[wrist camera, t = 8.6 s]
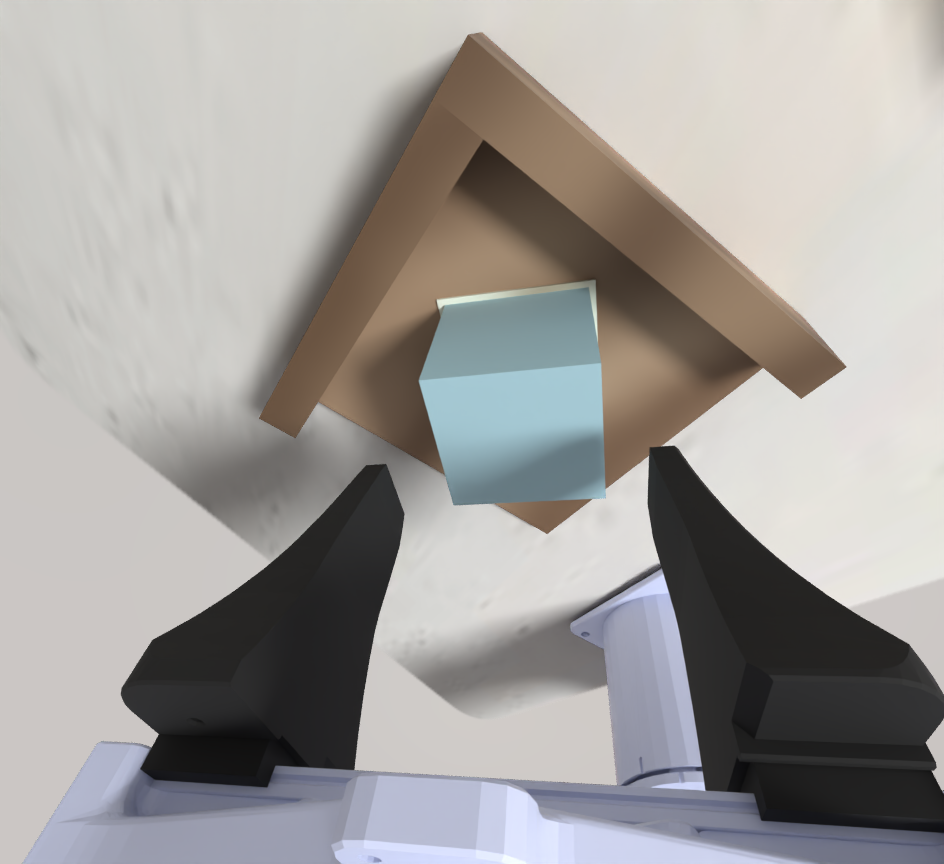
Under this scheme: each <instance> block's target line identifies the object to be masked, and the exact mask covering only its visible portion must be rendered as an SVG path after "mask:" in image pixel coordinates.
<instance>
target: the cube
mask: <svg viewBox="0 0 944 864" xmlns="http://www.w3.org/2000/svg"><path fill="white" fill-rule="evenodd" d="M419 383H420V387H421V391H422V394H423V398H424V401H425V405H426V408H427V412H428V416H429V419H430V423H431V426H432V430H433V433H434V437H435V440H436V444H437V448H438V451H439V455H440V458H441V462H442V465H443V469H444V473H445V476H446V480H447V483H448V487H449V490H450V494H451V497H452V501H453V505H472V504H493V503H514V502H536V501H557V500H578V499H600V498H606V492H605V462H604V432H603V402H602V372H601V359H600V353H599V347H598V341H597V335H596V329H595V322H594V316H593V310H592V304H591V298H590V292H589V287H587V288H579V289H571V290H563V291H554V292H546V293H538V294H530V295H522V296H514V297H506V298H498V299H490V300H482V301H474V302H466V303H458V304H449V305H445V307H444V310H443V313H442V316H441V318H440V321H439V324H438V327H437V330H436V333H435V336H434V338H433V341H432V344H431V347H430V350H429V353H428V355H427V358H426V361H425V364H424V367H423V370H422V373H421V375H420V378H419Z"/></svg>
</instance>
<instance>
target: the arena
mask: <svg viewBox="0 0 944 864" xmlns="http://www.w3.org/2000/svg"><path fill="white" fill-rule="evenodd" d="M587 287H589V292H590V298H591V304H592V310H593V316H594V322H595V329H596V335H597V341H598V347H599V353H600V359H601V372H602V402H603V432H604V462H605V489H606V488H607V487H609V486H610V485H611V484H613V483H614V482H615V481H617V480H618V479H619V478H620V477H622V476H623V475H624V474H626V473H627V472H628V471H630V470H631V469H632V468H633V467H635V466H636V465H637V464H639V463H640V462H641V461H643V460H644V459H645V458H646V457H648V456H649V447H661V446H662V445H663V444H665V443H666V442H667V441H669V440H670V439H671V438H672V437H674V436H675V435H676V434H678V433H679V432H680V431H682V430H683V429H684V428H685V427H687V426H688V425H689V424H691V423H692V422H693V421H695V420H696V419H697V418H698V417H700V416H701V415H702V414H704V413H705V412H706V411H708V410H709V409H710V408H711V407H713V406H714V405H715V404H717V403H718V402H719V401H721V400H722V399H723V398H724V397H726V396H727V395H728V394H730V393H731V392H732V391H734V390H735V389H736V388H737V387H739V386H740V385H741V384H743V383H744V382H745V381H747V380H748V379H749V378H750V377H752V376H753V375H754V374H756V373H757V372H758V371H760V370H761V369H762V368H764V369H765V370H766V371H768V372H769V373H770V374H771V375H773V376H774V377H775V378H776V379H778V380H779V381H780V382H781V383H782V384H784V385H785V386H786V387H787V388H789V389H790V390H791V391H792V392H793V393H795V394H796V395H797V396H798V397H800V398H801V399H802V398H803V397H805V396H806V395H807V394H809V393H810V392H812V391H813V390H815V389H816V388H817V387H819V386H820V385H822V384H823V383H825V382H826V381H827V380H829V379H830V378H832V377H833V376H835V375H836V374H837V373H839V372H840V371H842V370H843V369H845V368H846V366H845V365H844V363H843V362H842V361H841V360H840V359H839V358H838V356H837V355H836V354H835V353H834V352H833V351H832V350H831V348H830V347H829V346H828V345H827V344H826V343H825V342H824V340H823V339H822V338H821V337H820V336H819V335H818V334H817V332H816V331H815V330H814V329H813V328H812V327H811V326H810V324H809V323H808V322H807V321H806V320H805V319H804V318H803V317H802V316H801V315H800V314H799V313H798V312H796V311H795V310H794V309H793V308H792V307H791V306H790V305H789V304H787V303H786V302H785V301H784V300H783V299H782V298H781V297H780V296H778V295H777V294H776V293H775V292H774V291H773V290H772V289H771V288H769V287H768V286H767V285H766V284H765V283H764V282H763V281H761V280H760V279H759V278H758V277H757V276H756V275H755V274H754V273H752V272H751V271H750V270H749V269H748V268H747V267H746V266H745V265H743V264H742V263H741V262H740V261H739V260H738V259H737V258H736V257H734V256H733V255H732V254H731V253H730V252H729V251H728V250H727V249H725V248H724V247H723V246H722V245H721V244H720V243H719V242H718V241H716V240H715V239H714V238H713V237H712V236H711V235H710V234H709V233H707V232H706V231H705V230H704V229H703V228H702V227H701V226H700V225H698V224H697V223H696V222H695V221H694V220H693V219H692V218H691V217H689V216H688V215H687V214H686V213H685V212H684V211H683V210H681V209H680V208H679V207H678V206H677V205H676V204H675V203H674V202H672V201H671V200H670V199H669V198H668V197H667V196H666V195H665V194H663V193H662V192H661V191H660V190H659V189H658V188H657V187H656V186H654V185H653V184H652V183H651V182H650V181H649V180H648V179H647V178H645V177H644V176H643V175H642V174H641V173H640V172H639V171H638V170H636V169H635V168H634V167H633V166H632V165H631V164H630V163H629V162H627V161H626V160H625V159H624V158H623V157H622V156H621V155H620V154H618V153H617V152H616V151H615V150H614V149H613V148H612V147H611V146H609V145H608V144H607V143H606V142H605V141H604V140H603V139H601V138H600V137H599V136H598V135H597V134H596V133H595V132H594V131H592V130H591V129H590V128H589V127H588V126H587V125H586V124H585V123H583V122H582V121H581V120H580V119H579V118H578V117H577V116H576V115H574V114H573V113H572V112H571V111H570V110H569V109H568V108H567V107H565V106H564V105H563V104H562V103H561V102H560V101H559V100H558V99H556V98H555V97H554V96H553V95H552V94H551V93H550V92H549V91H547V90H546V89H545V88H544V87H543V86H542V85H541V84H540V83H538V82H537V81H536V80H535V79H534V78H533V77H532V76H531V75H529V74H528V73H527V72H526V71H525V70H524V69H523V68H521V67H520V66H519V65H518V64H517V63H516V62H515V61H514V60H512V59H511V58H510V57H509V56H508V55H507V54H506V53H505V52H503V51H502V50H501V49H500V48H499V47H498V46H497V45H496V44H494V43H493V42H492V41H491V40H490V39H489V38H488V37H487V36H485V35H484V34H483V33H482V32H481V33H475V34H469V35H468V36H467V38H466V40H465V41H464V43H463V45H462V47H461V49H460V51H459V52H458V54H457V56H456V58H455V60H454V62H453V63H452V65H451V67H450V69H449V71H448V73H447V74H446V76H445V78H444V80H443V82H442V84H441V85H440V87H439V89H438V91H437V93H436V95H435V96H434V98H433V100H432V102H431V104H430V106H429V107H428V109H427V111H426V113H425V115H424V117H423V118H422V120H421V122H420V124H419V126H418V128H417V129H416V131H415V133H414V135H413V137H412V139H411V140H410V142H409V144H408V146H407V148H406V150H405V151H404V153H403V155H402V157H401V159H400V161H399V162H398V164H397V166H396V168H395V170H394V172H393V173H392V175H391V177H390V179H389V181H388V183H387V184H386V186H385V188H384V190H383V192H382V194H381V195H380V197H379V199H378V201H377V203H376V205H375V206H374V208H373V210H372V212H371V214H370V216H369V217H368V219H367V221H366V223H365V225H364V227H363V228H362V230H361V232H360V234H359V236H358V238H357V239H356V241H355V243H354V245H353V247H352V249H351V250H350V252H349V254H348V256H347V258H346V259H345V261H344V263H343V265H342V267H341V269H340V270H339V272H338V274H337V276H336V278H335V280H334V281H333V283H332V285H331V287H330V289H329V291H328V292H327V294H326V296H325V298H324V300H323V302H322V303H321V305H320V307H319V309H318V311H317V313H316V314H315V316H314V318H313V320H312V322H311V324H310V325H309V327H308V329H307V331H306V333H305V335H304V336H303V338H302V340H301V342H300V344H299V346H298V347H297V349H296V351H295V353H294V355H293V357H292V358H291V360H290V362H289V364H288V366H287V368H286V369H285V371H284V373H283V375H282V377H281V379H280V380H279V382H278V384H277V386H276V388H275V390H274V391H273V393H272V395H271V397H270V399H269V401H268V402H267V404H266V406H265V408H264V410H263V412H262V413H261V415H260V417H259V419H261V420H263V421H265V422H267V423H269V424H270V425H272V426H274V427H276V428H278V429H279V430H281V431H283V432H285V433H287V434H289V435H290V436H292V437H294V438H296V436H297V435H298V433H299V431H300V430H301V428H302V427H303V425H304V423H305V422H306V420H307V419H308V417H309V415H310V414H311V412H312V411H313V409H314V408H315V406H316V404H317V403H318V402H320V403H321V404H323V405H325V406H327V407H328V408H330V409H332V410H334V411H335V412H337V413H339V414H340V415H342V416H344V417H346V418H347V419H349V420H351V421H353V422H354V423H356V424H358V425H360V426H361V427H363V428H365V429H366V430H368V431H370V432H372V433H373V434H375V435H377V436H379V437H380V438H382V439H384V440H385V441H387V442H389V443H391V444H392V445H394V446H396V447H398V448H399V449H401V450H403V451H405V452H406V453H408V454H410V455H411V456H413V457H415V458H417V459H418V460H420V461H422V462H424V463H425V464H427V465H429V466H430V467H432V468H434V469H436V470H437V471H439V472H441V473H443V474H444V475H445V473H444V469H443V465H442V462H441V458H440V455H439V451H438V448H437V444H436V440H435V437H434V433H433V430H432V426H431V423H430V419H429V416H428V412H427V408H426V405H425V401H424V398H423V394H422V391H421V387H420V383H419V378H420V375H421V373H422V370H423V367H424V364H425V361H426V358H427V355H428V353H429V350H430V347H431V344H432V341H433V338H434V336H435V333H436V330H437V327H438V324H439V321H440V318H441V316H442V313H443V310H444V307H445V305H449V304H458V303H466V302H474V301H482V300H490V299H498V298H506V297H514V296H522V295H530V294H538V293H546V292H554V291H563V290H571V289H579V288H587ZM591 500H592V499H578V500H557V501H536V502H514V503H495V504H496V505H498V506H500V507H501V508H503V509H505V510H507V511H508V512H510V513H512V514H514V515H515V516H517V517H519V518H520V519H522V520H524V521H526V522H527V523H529V524H531V525H533V526H534V527H536V528H538V529H540V530H541V531H543V532H545V533H546V534H548V533H549V532H550V531H552V530H553V529H554V528H555V527H557V526H558V525H559V524H561V523H562V522H563V521H565V520H566V519H567V518H568V517H570V516H571V515H572V514H574V513H575V512H576V511H578V510H579V509H580V508H581V507H583V506H584V505H585V504H587V503H588V502H589V501H591Z"/></svg>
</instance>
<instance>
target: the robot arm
mask: <svg viewBox="0 0 944 864" xmlns="http://www.w3.org/2000/svg"><path fill="white" fill-rule="evenodd" d="M648 509H649V515H650V522H651V528H652V534H653V539H654V543H655V546H656V550H657V553H658V557H659V560H660V564H661V567H662V569H660V570H658V571H657V572H655V573H653V574H652V575H650V576H648V577H647V578H645V579H643V580H642V581H640V582H638V583H637V584H635V585H633V586H632V587H630V588H628V589H627V590H625V591H623V592H622V593H620V594H618V595H617V596H615V597H613V598H612V599H610V600H608V601H607V602H605V603H603V604H602V605H600V606H598V607H597V608H595V609H593V610H592V611H590V612H588V613H587V614H585V615H583V616H582V617H580V618H578V619H577V620H575V621H573V622H572V623H571V624H570V631H571V632H572V633H573V634H575V635H577V636H579V637H581V638H582V639H584V640H586V641H588V642H590V643H592V644H594V645H596V646H598V647H600V648H602V649H604V653H605V664H606V674H607V685H608V695H609V706H610V716H611V727H612V738H613V748H614V759H615V768H616V780H617V785H600V784H582V783H565V782H546V781H530V780H513V779H496V778H479V777H461V776H444V775H427V774H426V775H425V774H410V773H392V772H374V771H358V770H354V768H355V759H356V750H357V740H358V731H359V724H360V717H361V709H362V703H363V695H364V689H365V683H366V677H367V671H368V665H369V659H370V654H371V649H372V644H373V638H374V633H375V629H376V625H377V621H378V617H379V613H380V610H381V607H382V603H383V600H384V597H385V593H386V590H387V587H388V584H389V580H390V577H391V574H392V570H393V567H394V564H395V560H396V557H397V553H398V550H399V546H400V540H401V534H402V528H403V521H404V511H403V509H402V506H401V503H400V500H399V498H398V495H397V492H396V489H395V487H394V484H393V481H392V478H391V476H390V473H389V470H388V467H387V465H386V464H380V465H366V466H365V467H364V468H363V470H362V471H361V472H360V473H359V474H358V475H357V476H356V477H355V478H354V480H353V481H352V482H351V483H350V484H349V485H348V486H347V487H346V489H345V490H344V491H343V492H342V493H341V494H340V495H339V497H338V498H337V499H336V500H335V501H334V502H333V503H332V504H331V505H330V506H329V508H328V509H327V510H326V511H325V512H324V513H323V514H322V515H321V516H320V517H319V518H318V519H317V520H316V521H315V522H314V523H313V524H312V525H311V526H310V527H309V528H308V529H307V530H306V531H305V532H304V533H303V534H302V535H301V536H300V537H299V538H298V539H297V540H296V541H295V542H294V543H293V544H292V545H291V546H290V547H289V548H288V549H287V550H285V551H284V552H283V553H282V554H281V555H280V556H279V557H277V558H276V559H275V560H274V561H273V562H271V563H270V564H269V565H268V566H267V567H266V568H264V569H263V570H262V571H260V572H259V573H258V574H257V575H255V576H254V577H252V578H251V579H250V580H248V581H247V582H246V583H244V584H243V585H242V586H240V587H239V588H238V589H236V590H235V591H233V592H232V593H231V594H229V595H228V596H226V597H225V598H223V599H222V600H220V601H219V602H217V603H216V604H214V605H212V606H211V607H209V608H208V609H206V610H205V611H203V612H202V613H200V614H198V615H196V616H195V617H193V618H191V619H190V620H188V621H186V622H184V623H183V624H181V625H179V626H177V627H175V628H174V629H172V630H170V631H168V632H166V633H165V634H163V635H161V636H159V637H157V638H155V639H153V640H152V642H151V643H150V645H149V646H148V648H147V649H146V651H145V652H144V654H143V656H142V657H141V659H140V660H139V662H138V663H137V665H136V667H135V668H134V670H133V671H132V673H131V675H130V676H129V678H128V679H127V681H126V682H125V684H124V685H123V687H122V690H121V696H122V699H123V701H124V703H125V705H126V706H127V707H128V708H129V709H130V710H131V711H132V712H133V713H134V714H136V715H137V716H138V717H139V718H140V719H142V720H143V721H144V722H145V723H146V724H148V725H149V726H150V727H151V728H152V729H154V730H155V731H156V732H157V733H158V734H159V735H158V737H157V739H156V741H155V743H154V744H153V746H152V748H151V747H149V746H146V745H143V744H138V743H125V742H104V741H102V742H99V743H97V745H96V746H95V748H94V750H93V751H92V753H91V754H90V756H89V757H88V759H87V761H86V762H85V764H84V765H83V767H82V769H81V770H80V772H79V773H78V775H77V777H76V778H75V780H74V782H73V783H72V785H71V786H70V788H69V790H68V791H67V793H66V794H65V796H64V798H63V799H62V801H61V802H60V804H59V805H58V807H57V809H56V810H55V812H54V814H53V815H52V817H51V818H50V820H49V822H48V823H47V825H46V827H45V828H44V830H43V831H42V833H41V834H40V836H39V838H38V839H37V841H36V842H35V844H34V846H33V848H32V849H31V851H30V852H29V854H28V855H27V857H26V859H25V860H24V862H23V863H22V864H944V790H943V791H942V790H941V789H940V786H939V785H938V783H937V781H936V779H935V777H934V775H933V773H932V771H931V770H935V769H936V762H935V760H934V758H933V756H932V754H931V752H930V750H929V749H928V747H927V745H926V741H927V740H928V739H929V737H930V736H931V735H932V733H933V732H934V731H935V730H936V728H937V727H938V726H939V725H940V723H941V722H942V720H943V719H944V694H943V693H942V691H941V689H940V688H939V686H938V684H937V682H936V681H935V679H934V678H933V676H932V675H931V673H930V672H929V670H928V669H927V668H926V666H925V665H924V663H923V662H922V661H921V659H920V658H919V657H918V656H917V654H916V653H915V652H914V650H913V649H912V648H911V646H910V645H909V644H907V643H906V642H904V641H902V640H901V639H899V638H897V637H895V636H894V635H892V634H890V633H888V632H887V631H885V630H883V629H881V628H880V627H878V626H876V625H874V624H872V623H871V622H869V621H867V620H866V619H864V618H862V617H860V616H859V615H857V614H856V613H854V612H852V611H851V610H849V609H848V608H846V607H845V606H843V605H842V604H840V603H839V602H837V601H835V600H834V599H832V598H831V597H829V596H828V595H826V594H825V593H824V592H822V591H821V590H820V589H818V588H817V587H815V586H814V585H813V584H811V583H810V582H808V581H807V580H806V579H804V578H803V577H802V576H800V575H799V574H797V573H796V572H795V571H793V570H792V569H791V568H790V567H788V566H787V565H786V564H785V563H784V562H782V561H781V560H780V559H779V558H777V557H776V556H775V555H774V554H773V553H772V552H770V551H769V550H768V549H767V548H766V547H765V546H763V545H762V544H761V543H760V542H759V541H758V540H757V539H756V538H755V537H754V536H753V535H751V534H750V533H749V532H748V531H747V530H746V529H745V528H744V527H743V526H742V525H741V524H740V523H739V522H738V521H737V520H736V519H735V518H734V517H733V516H732V515H731V514H730V512H729V511H728V510H727V509H726V508H725V507H724V506H723V505H722V504H721V503H720V502H719V500H718V499H717V498H716V497H715V496H714V495H713V494H712V492H711V491H710V490H709V489H708V488H707V487H706V485H705V484H704V483H703V482H702V480H701V479H700V478H699V477H698V475H697V474H696V473H695V472H694V470H693V469H692V468H691V466H690V465H689V464H688V462H687V461H686V459H685V458H684V456H683V455H682V454H681V452H680V451H679V449H678V448H677V447H675V446H662V447H649V477H648Z"/></svg>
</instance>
